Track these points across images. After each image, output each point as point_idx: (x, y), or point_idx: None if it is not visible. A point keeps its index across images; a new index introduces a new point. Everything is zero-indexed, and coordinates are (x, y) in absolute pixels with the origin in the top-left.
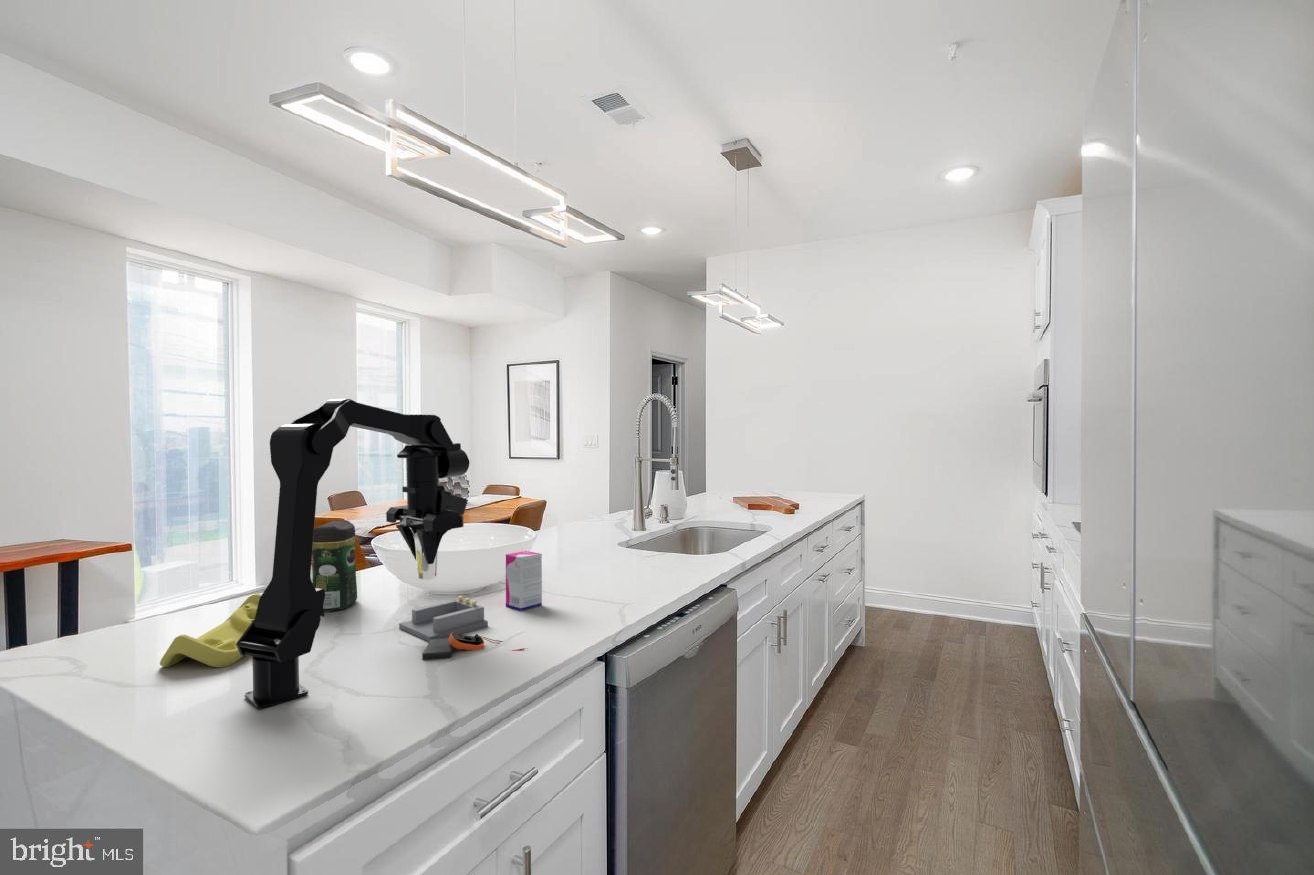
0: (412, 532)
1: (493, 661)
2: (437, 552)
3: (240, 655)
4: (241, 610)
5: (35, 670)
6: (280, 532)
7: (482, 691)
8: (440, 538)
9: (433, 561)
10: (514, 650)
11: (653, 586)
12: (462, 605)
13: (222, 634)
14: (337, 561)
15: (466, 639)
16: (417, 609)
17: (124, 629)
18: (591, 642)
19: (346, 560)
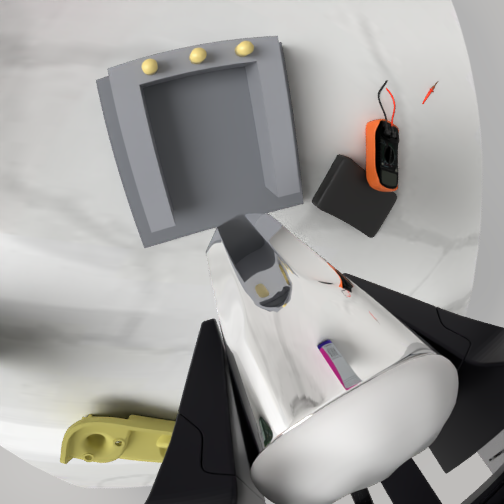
0: (361, 497)
1: (437, 147)
2: (341, 273)
3: None
4: (99, 459)
5: (133, 483)
6: None
7: (472, 201)
8: (491, 331)
9: (352, 278)
10: (427, 97)
11: None
12: (186, 73)
13: (146, 452)
14: None
15: (392, 159)
16: (160, 218)
17: (36, 463)
18: (452, 8)
19: None
